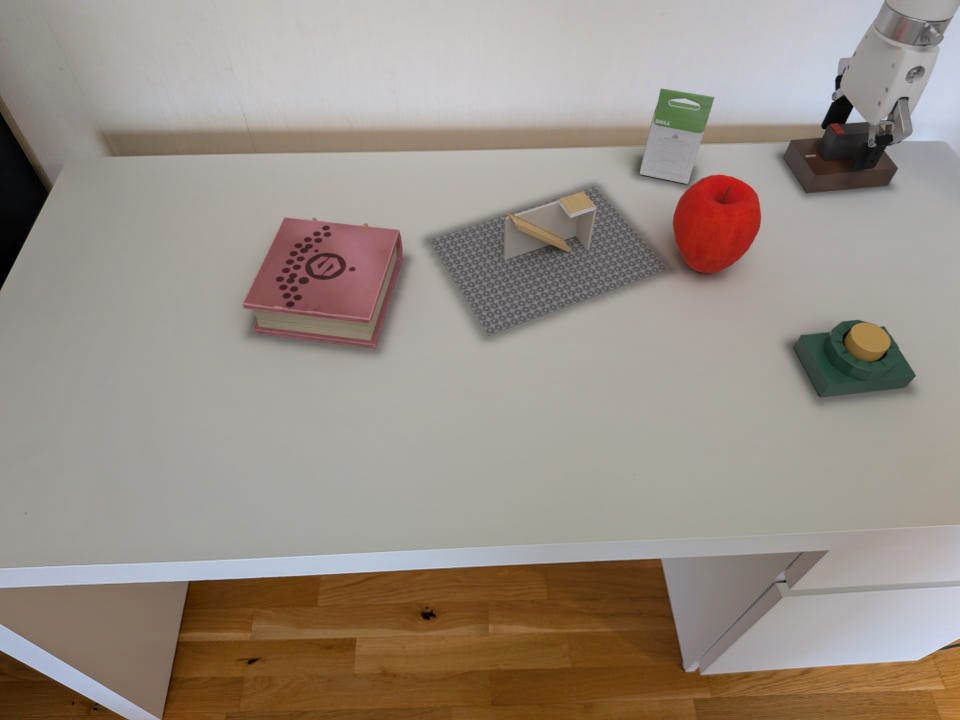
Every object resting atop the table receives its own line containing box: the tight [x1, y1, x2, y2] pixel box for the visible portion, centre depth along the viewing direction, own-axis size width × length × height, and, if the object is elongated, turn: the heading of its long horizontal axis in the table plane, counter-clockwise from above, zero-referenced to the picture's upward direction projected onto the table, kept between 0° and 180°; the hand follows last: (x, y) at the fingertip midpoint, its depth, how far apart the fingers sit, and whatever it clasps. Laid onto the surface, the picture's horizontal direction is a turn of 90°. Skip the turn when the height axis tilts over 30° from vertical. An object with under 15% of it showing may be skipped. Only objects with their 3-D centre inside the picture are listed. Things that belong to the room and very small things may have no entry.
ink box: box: [639, 88, 716, 185], centre depth 91 cm, size 7×4×13 cm, turn 71°
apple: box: [672, 174, 762, 274], centre depth 81 cm, size 10×10×12 cm
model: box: [503, 190, 598, 260], centre depth 83 cm, size 3×11×8 cm, turn 115°
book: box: [241, 216, 404, 349], centre depth 80 cm, size 14×15×5 cm
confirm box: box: [793, 319, 917, 398], centre depth 74 cm, size 10×7×4 cm
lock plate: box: [783, 137, 899, 194], centre depth 95 cm, size 12×8×3 cm, turn 98°
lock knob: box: [817, 121, 885, 161], centre depth 93 cm, size 7×2×4 cm, turn 98°
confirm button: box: [844, 322, 890, 362], centre depth 72 cm, size 4×4×2 cm
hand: (846, 147), depth 93 cm, fingers open, 8 cm apart
